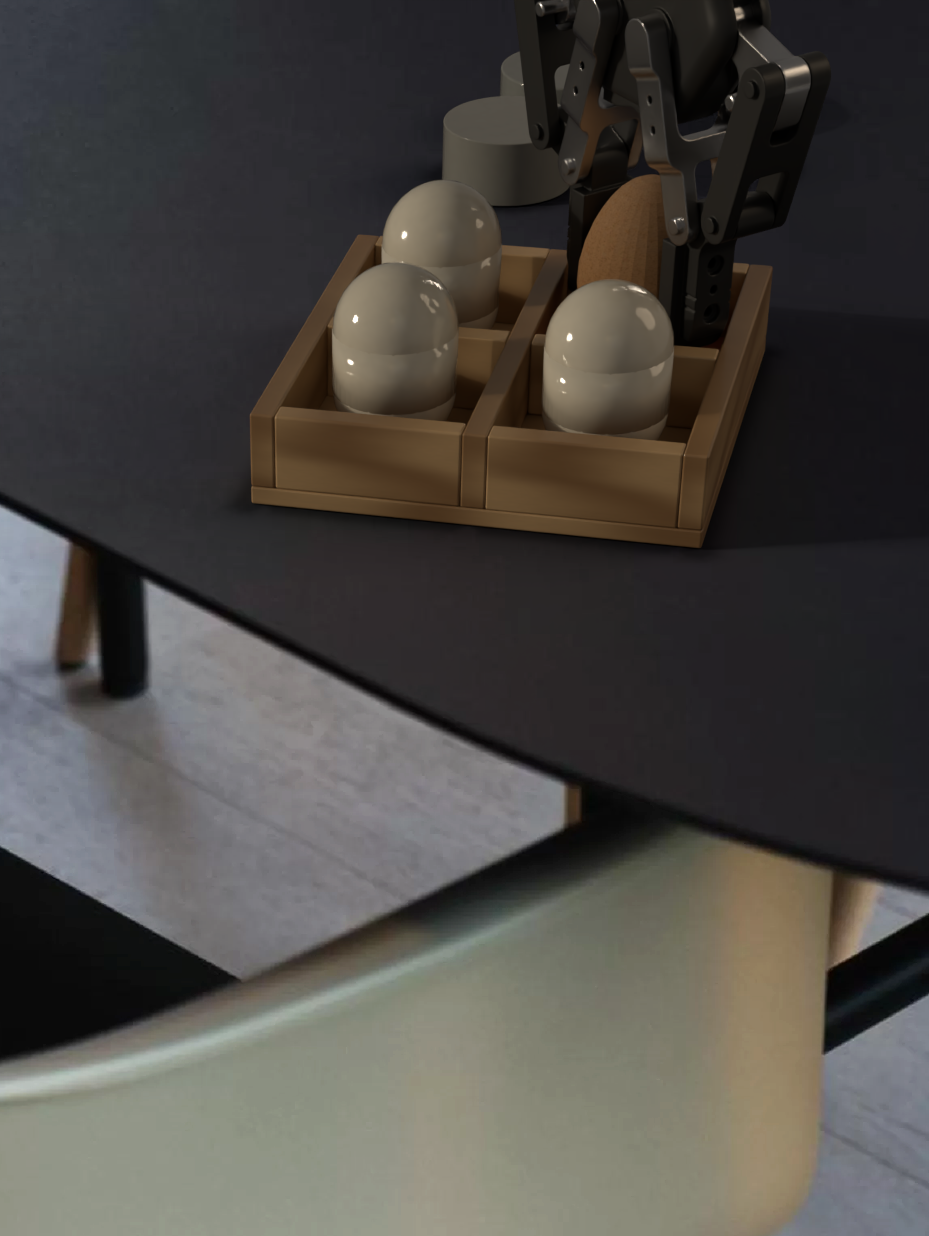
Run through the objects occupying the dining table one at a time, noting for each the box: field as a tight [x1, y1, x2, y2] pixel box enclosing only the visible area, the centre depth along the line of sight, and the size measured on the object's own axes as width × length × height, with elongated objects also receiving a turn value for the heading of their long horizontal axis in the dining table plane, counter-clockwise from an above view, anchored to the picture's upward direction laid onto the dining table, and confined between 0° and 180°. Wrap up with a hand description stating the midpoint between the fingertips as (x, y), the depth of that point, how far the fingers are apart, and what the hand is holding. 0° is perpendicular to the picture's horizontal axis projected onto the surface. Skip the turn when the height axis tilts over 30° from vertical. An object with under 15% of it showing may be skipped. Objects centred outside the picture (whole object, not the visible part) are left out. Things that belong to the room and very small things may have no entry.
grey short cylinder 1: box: [499, 50, 612, 128], centre depth 116 cm, size 5×5×2 cm
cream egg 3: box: [541, 279, 674, 441], centre depth 91 cm, size 4×4×6 cm
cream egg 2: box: [332, 262, 459, 421], centre depth 93 cm, size 4×4×6 cm
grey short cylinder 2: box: [441, 95, 570, 207], centre depth 112 cm, size 5×5×2 cm
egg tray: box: [249, 234, 774, 549], centre depth 96 cm, size 14×14×3 cm
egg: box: [577, 173, 669, 300], centre depth 96 cm, size 4×4×6 cm
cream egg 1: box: [381, 179, 503, 330], centre depth 98 cm, size 4×4×6 cm
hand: (643, 315), depth 97 cm, fingers closed on egg, 4 cm apart
